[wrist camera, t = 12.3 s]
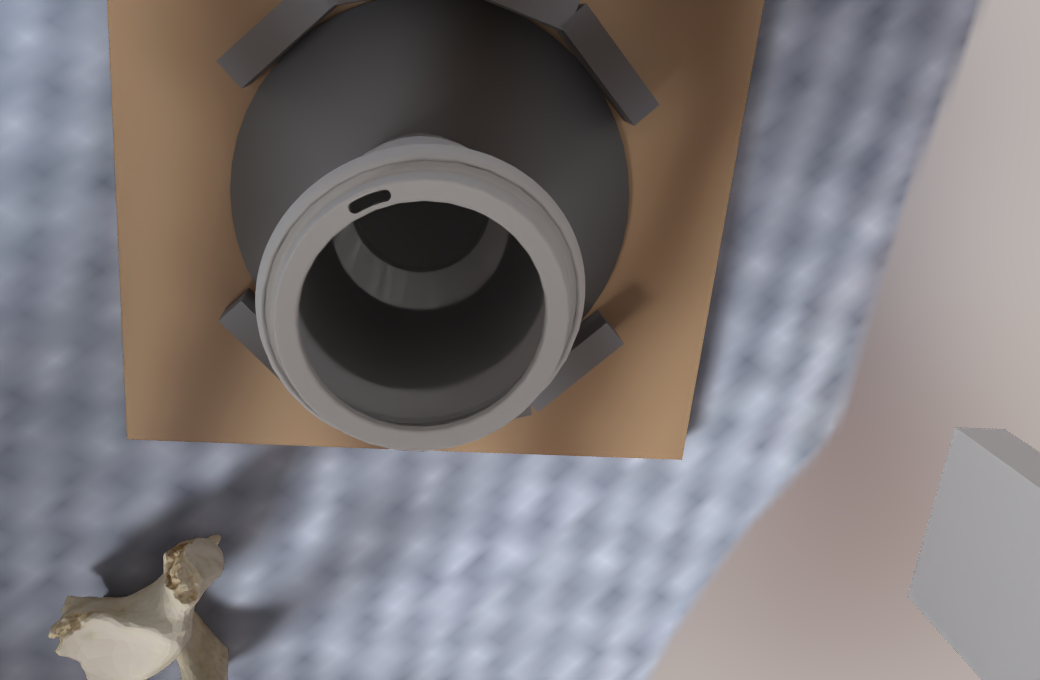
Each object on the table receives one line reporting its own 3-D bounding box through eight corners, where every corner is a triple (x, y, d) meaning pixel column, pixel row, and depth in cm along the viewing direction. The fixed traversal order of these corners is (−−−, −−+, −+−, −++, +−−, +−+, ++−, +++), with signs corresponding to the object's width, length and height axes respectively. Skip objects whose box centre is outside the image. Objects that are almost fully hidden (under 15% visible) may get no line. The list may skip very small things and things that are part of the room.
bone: (32, 495, 31) (115, 694, 24) (216, 462, 35) (332, 624, 28) (34, 683, 34) (108, 906, 27) (202, 633, 38) (304, 817, 31)
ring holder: (136, 424, 32) (114, 459, 30) (113, -135, 26) (82, -151, 24) (672, 445, 35) (693, 478, 33) (760, -52, 29) (794, -58, 27)
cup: (484, 63, 28) (530, 97, 17) (556, 255, 30) (639, 397, 19) (274, 149, 28) (180, 238, 17) (362, 333, 30) (330, 518, 19)
